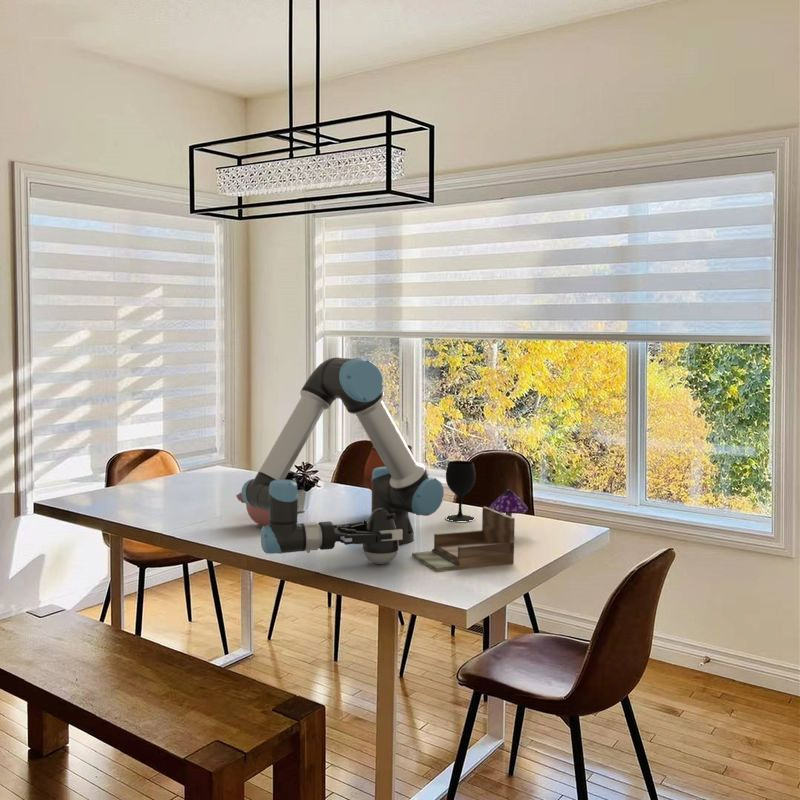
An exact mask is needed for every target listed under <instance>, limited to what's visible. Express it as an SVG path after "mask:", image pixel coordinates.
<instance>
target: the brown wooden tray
mask: <svg viewBox="0 0 800 800" xmlns="http://www.w3.org/2000/svg"><path fill="white" fill-rule="evenodd" d="M481 516H482V518H481V519H482V520H481V521H482V522H481V523H482V524H481V529H478V530H467V531H466V530H465V531H455V532H443V533H434V534H433V535H434V536H433V538H434V539H433V549H431V550H428V551H417V552H411V557H413V556H414V557H415V559H416V558H417V559H418V560H417V559H416V560H417V561H419V560H420V561H421V562H420V561H419V562H420V563H422V562H423V563H422V564H424V563H425V564H426V566H427V565H428V566H429V568H430V567H431V568H430V569H431V570H433V569H434V571H435V572H436V571H437V572H446V571H445V570H447V571H453V569H454V571H456V570H465V569H473V568H483V567H493V566H503V565H504V564H505V565H514V564H515V563H514V559H515V556H514V555H515V526H516V525H515V523H516V522H515V519H516V518H514V517H513V516H512V517H510V516H508V515H506V513H500V512H498V511H495V510H493V509H490V507H487V506H482V515H481ZM414 557H413V558H414ZM513 563H514V564H513ZM425 564H424V565H425ZM505 565H504V566H505ZM428 566H427V567H428ZM455 569H456V570H455Z"/></svg>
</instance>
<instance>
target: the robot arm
mask: <svg viewBox="0 0 800 800" xmlns="http://www.w3.org/2000/svg"><path fill="white" fill-rule="evenodd" d="M383 383H384V377H383V373H382V371H381V370H380V368H379V367H378V365H376V364H375V363H374V362H372V361H370V360H368V359H363V358H358V357H355V358H346V357H330V358H328V359H326V360H324V361H323V362H321V363H320V364H319V365H318V366H317V367H316V368H314V371H313V372H312V373H311V374H310V376H309V377H308V378H307V380H306V381H305V383H304V384H303V386H302V388H301V390H300V392H299V393H300V397H301V398H299V400H298V402H297V404H296V406H295V407H294V410H293V411H292V412H291V414H290V417H289V418H288V419H287V421H286V424H285V425H284V426H283V428H282V429H281V432H280V434H279V435H278V437H277V439H276V441H275V443H274V444H273V446H272V447H271V450H270V451H269V453H268V455H267V457H266V458H265V460H264V462H263V463H262V465H261V467H260V469H259V471H258V472H257V474H256V475H255V477H254V478H251V479H249V480H247V481H246V482H244V483H243V486H242V488H241V491H240V493H241V495H242V498H243V500H244V501H245V502H246V503H247V504H249V505H251V506H252V507H255V508H259V509H262V510H265V511H268V512H269V525H267V526H262V528H261V531H260V545H261V548H262V549H261V550H262V551H263V553H265V554H267V555H270V554H279V555H282V554H289V553H297V552H298V553H299V552H306V553H307V554H309V553H310V552H311V551H318V550H322V551H324V550H325V551H327V550H332V549H334V548H335V545H336V542H337V543H338V542H340V543H341V544H344V545H345V546H347V545H363V544H378V545H380V544H381V541H390V540H398V542H399V545H400V544H401V545H402V544H407V543H411V542H412V540H413V541H414V539H415V538H414V537H415V535H414V528H413V526H412V525H413V524H412V522H411V519H410V515H409V513H410V514H414V515H416V516H422V517H423V516H425V517H426V516H431V515H433V514H435V512H437V511H438V509H439V508H440V506H441V505H442V504H443V498H444V495H445V493H444V492H445V491H444V486H443V483H442V481H440V479H437V478H436V477H433V476H431V475H430V473H429V472H428V470H427V468H426V466H425V465H424V464H423V463H422V462H420V461H419V462H417V461H416V459H415V457H413V456H414V454H413V455H412V453H413V452H412V453H411V451H410V450H409V448H408V446H407V445H408V444H407V443H406V441H405V439H404V437H403V435H402V433H401V431H400V430H399V427H397V425H396V423H395V421H394V419H393V417H392V416H391V413H390V412H389V410H388V408H387V407H386V404H385V403H384V401H383V397H384V394H385V393H384V390H383V386H384V385H383ZM336 399H339V400H340V401H341V403H342V404H343V406H344V407H345V410H346V411H347V412H348V413H349V414H352V415H355V416H356V417H357V419H358V421H359V422H360V424H361V426H362V428H363V430H364V431H365V433H366V435H367V437H368V438H369V440H370V442H371V443H372V446H374V447H375V449H376V451H377V452H378V454H379V456H380V458H381V459H382V461H383V463H384V464H385V466H386V467H378V468H375V469H374V470H373V472H372V479H371V481H372V491H371V513H372V512H373V511H374V510H375V509H377V508H385V509H387V510H388V511H389V512H390V514H393V513H394V514H395V515H396V516H395V517H394V518H393V520H394V523H395V526H396V530H385V531H379V532H365V529H366V525H367V522H368V520H366V519H365V520H363V521H357V522H355V521H354V522H348V523H342V524H334V523H333V522H332V521H320V522H315V521H314V522H303V523H298V506H299V505H298V503H299V502H298V499H299V493H298V484H297V482H296V481H295V480H292V479H286V477H287V476H288V475H289V472H290V470H291V469H292V467H293V466H294V464H295V462H296V461H297V459H298V456H299V454H301V451H302V450H303V448H304V446H305V445H306V442H308V439H309V437H310V436H311V434H312V432H313V430H314V428H315V427H316V425H317V423H318V422H319V420H320V418H321V416H322V414H323V412H324V411H325V410H328V409H330V407H331V405H332V404H333V402H334V401H336ZM246 503H245V504H246Z"/></svg>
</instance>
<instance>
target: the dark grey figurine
mask: <svg viewBox="0 0 800 800" xmlns="http://www.w3.org/2000/svg"><path fill="white" fill-rule="evenodd" d="M395 516H396V515H395V514H394V513H393V514H390V512H389V511H388V510H387V509H385V508H377V509H375V510H374V511H373V512H372V511H371V513H370V516H369V518H368V520H367V525H366V529H365V532H379V531H385V530H396V526H395V523H394V520H393V518H394V517H395ZM399 549H400V544H399V542H398V540H390V541H381V544H380V545H378V544H362V550H363V554H364V556H365V558H366V559H367V560H368V561H369V562H370V563H373V564H377V565H378V564H379V565H382V564H388V563H390V562H392V561H394V559H396V556H397V555H398V551H399Z"/></svg>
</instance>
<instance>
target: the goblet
mask: <svg viewBox="0 0 800 800" xmlns="http://www.w3.org/2000/svg"><path fill="white" fill-rule="evenodd" d="M371 446H372V447H371V450H370V453H369V455H368V457H367V460H366V463H365V466H364V470H363V471H364V472H363V477H364V482H365V484H366V486H367V487H368V488H369V490H370V491H371V492H372V481H371V479H372V472H373V470H374V469H375V468H378V467H386V466H385V464H384V463H383V461H382V459H381V458H380V456H379V454H378V452H377V451H376V449H375V447H374V445H371ZM407 446H408V448H409V450H410V451H411V453H412V455H413V457H414V453H413V450H412V449H413V446H412V445H408V444H407ZM414 458H415V457H414Z"/></svg>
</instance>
